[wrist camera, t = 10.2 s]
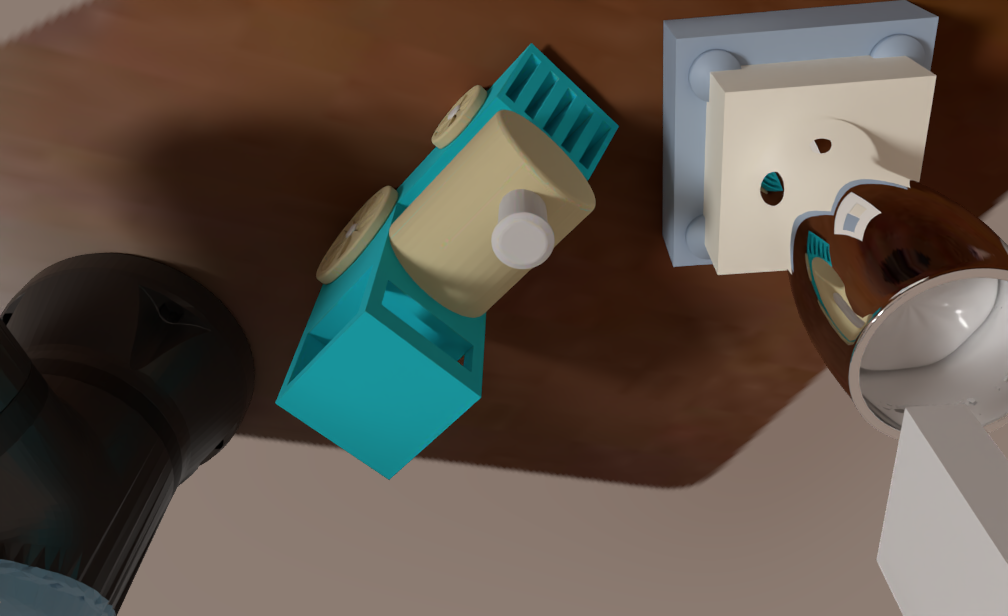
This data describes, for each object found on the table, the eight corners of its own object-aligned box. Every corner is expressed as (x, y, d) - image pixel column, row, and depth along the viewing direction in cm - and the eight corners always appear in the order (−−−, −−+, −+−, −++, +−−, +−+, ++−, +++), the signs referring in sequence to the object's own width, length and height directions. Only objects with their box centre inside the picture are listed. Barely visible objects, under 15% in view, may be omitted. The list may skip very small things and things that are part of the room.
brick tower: (662, 234, 50) (686, 303, 43) (663, 20, 44) (691, 60, 37) (874, 219, 50) (933, 287, 43) (905, 0, 44) (978, 37, 37)
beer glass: (802, 276, 42) (930, 484, 29) (705, 188, 40) (796, 371, 27) (922, 175, 40) (1120, 354, 27) (825, 74, 38) (990, 216, 25)
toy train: (626, 129, 47) (669, 253, 34) (429, 322, 54) (402, 488, 41) (520, 28, 45) (522, 120, 32) (325, 242, 51) (260, 393, 38)
